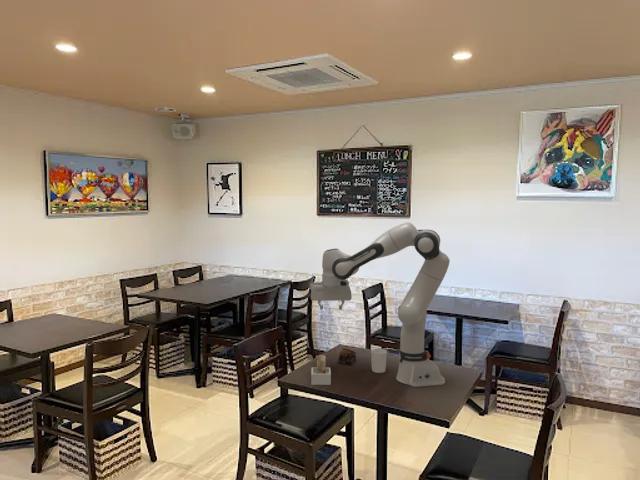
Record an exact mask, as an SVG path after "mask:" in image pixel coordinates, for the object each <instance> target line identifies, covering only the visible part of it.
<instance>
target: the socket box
mask: <svg viewBox="0 0 640 480" xmlns="http://www.w3.org/2000/svg"><path fill="white" fill-rule="evenodd" d="M310 368H311V373H310V374H311V376H310V377H311V380H310V382H311V383H310V384H311V386H330V385H331V384H332V377H331V376H332V372H331V367H326V370H325V374H317V367H310Z"/></svg>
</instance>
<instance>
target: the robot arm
mask: <svg viewBox="0 0 640 480" xmlns="http://www.w3.org/2000/svg"><path fill="white" fill-rule="evenodd" d="M440 246H441V238H440V235H439V234H438V233H437V232H436V231H435V230H433V229H417V228H416V226H415V225H414V224H413V223H411V222H403V223H400V224H399V225H395V226H394V227H392V228H390V229H388V230H387V231H385V232H383V233H382V234H381V235H380V236H379V237H377V238H376V239H374V241H373V242H371V243H370V244H369V245H368V246H367V247H365V248H363V249H362V250H360V251H358V252H356V253H354V254H353V255H349V254H347V253H345V252H342V251H341V250H340V248H330V249H326V250H325V251H324V252H323V253H322V262H321V263H322V264H321V265H322V266H321V268H322V274H321V278H322V279H321V281H313V282H311V283H310V284H309V289H310V300H311V301H313V302H314V301H317V304H318V306H319V310H323V309H324V305H322V304H321V301H324V302H326V301H328V302H330V301H333V302H335V301H338V302H339V301H340V302H341V303H340V304H339V305H338V310H343V306H344V304H345V301H352V297H353V296H352V295H353V294H352V290H351V287H350V281H349V280H348V279H349V278H350V277H352V276H354V275H355V274H356V273H358V272H359V270H360V267H362V266H364V265H366V264H368V263H370V262H372V261H374V260H377V259H380V258H384V257H388V256H389V257H390V256H392V255H393V254H396V253H398V252H400V251H402V250H405V249H406V248H408V247H414V249H415V250H416V252H417V253H418V254H419V256H421V257H422V258H423V259H424V262H423V264H422V266H421V268H420V269H419V271H418V273H417V275H416V277H415V279H414V281H413V282H412V284H411V287H409V289H408V291H407V293H406V295H405V296H404V298H403V300H402V302H401V303H400V305H399V307H398V309H397V316H398V319H399V321H400V322H401V323H402V325H401V329H400V341H399V342H400V344H399V351H398V362H399V363H398V370H397V371H398V372H397V373H396V377H395V378H396V380H397V381H398V382H399V383H402V384H404V385H409V386H411V387H413V388H419V387H431V386H443V385H445V384H446V378H445V377H444V376H443V375H442V374H441V372H440V368H439V367H438V365H437V364H436V363H434V362H433V361H432V360H430V358H432V355H431V354H430V353H429V352H428V351H427V350H425V332H426V323H427V310H428V307H429V305H430V304H431V303H432V301H433V299H434V297H435V296H436V293H437V292H438V289H439V288H440V285H441V284H442V282H443V280H444V278H445V276H446V273H448V272H447V271H448V268H449V265H450V258H449V256H448V255H447V254H446V253H444V252H442V251H441V249H440Z"/></svg>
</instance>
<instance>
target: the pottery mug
mask: <svg viewBox="0 0 640 480" xmlns="http://www.w3.org/2000/svg"><path fill="white" fill-rule="evenodd" d="M356 354H357V352H356V351H354V350H352V349H349V348H344V347H343V348H342V350H340V351H339V357H338V358H337V363H339V364H341V365H346V363H347V364H351V363H352V360H353V361H354V362H356V360H357V358H356V357H357V356H356Z"/></svg>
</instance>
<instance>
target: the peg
mask: <svg viewBox="0 0 640 480" xmlns="http://www.w3.org/2000/svg"><path fill="white" fill-rule="evenodd" d="M326 359H327V356H326V355H325V354H318V355H317V356H316V368H317V374H325V370H326V368H327V367H326Z"/></svg>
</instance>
